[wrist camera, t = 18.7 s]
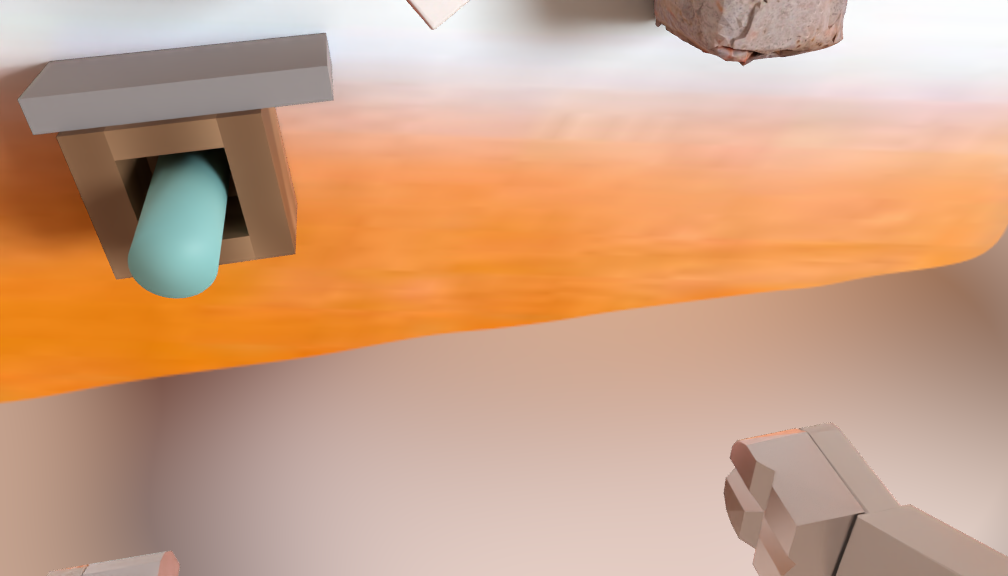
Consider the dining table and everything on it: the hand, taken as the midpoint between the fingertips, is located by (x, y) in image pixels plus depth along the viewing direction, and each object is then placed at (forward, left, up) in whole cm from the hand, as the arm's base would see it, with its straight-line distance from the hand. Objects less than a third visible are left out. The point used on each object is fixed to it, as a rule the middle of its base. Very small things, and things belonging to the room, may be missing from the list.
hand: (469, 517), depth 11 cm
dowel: (-9, -7, -28) cm, 30 cm away
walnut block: (-9, -6, -29) cm, 31 cm away
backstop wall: (-8, -2, -29) cm, 30 cm away
